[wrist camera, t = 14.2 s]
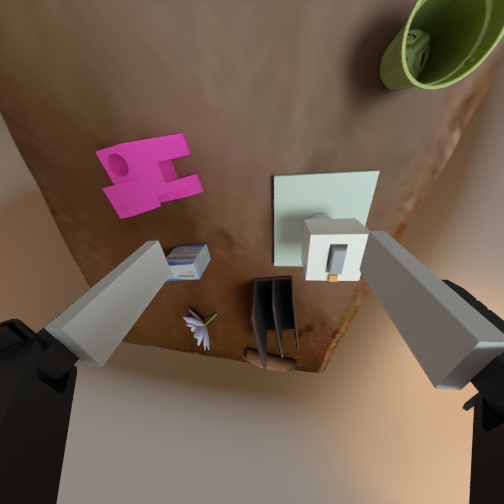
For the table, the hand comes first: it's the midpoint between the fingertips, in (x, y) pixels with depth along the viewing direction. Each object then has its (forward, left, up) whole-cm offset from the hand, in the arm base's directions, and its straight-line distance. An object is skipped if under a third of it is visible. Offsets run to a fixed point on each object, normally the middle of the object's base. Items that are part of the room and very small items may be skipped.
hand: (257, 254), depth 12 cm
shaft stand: (+9, +10, -28) cm, 31 cm away
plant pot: (-15, +19, -28) cm, 37 cm away
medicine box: (+16, -19, -28) cm, 37 cm away
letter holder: (+34, +2, -28) cm, 44 cm away
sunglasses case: (+62, -1, -28) cm, 68 cm away
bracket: (-3, -20, -28) cm, 34 cm away
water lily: (+40, -22, -28) cm, 53 cm away
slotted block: (+9, +10, -20) cm, 24 cm away
